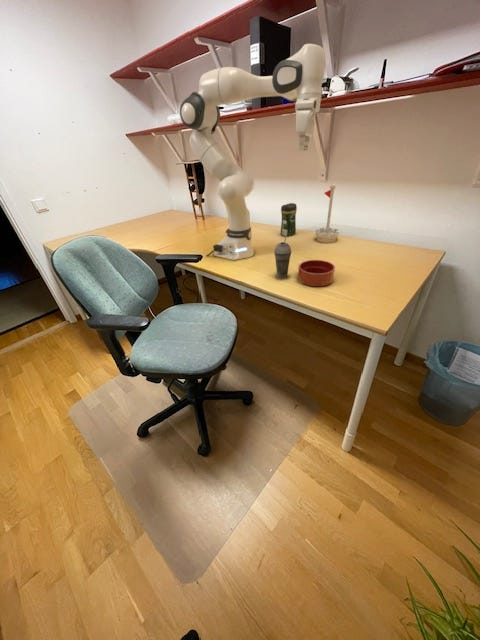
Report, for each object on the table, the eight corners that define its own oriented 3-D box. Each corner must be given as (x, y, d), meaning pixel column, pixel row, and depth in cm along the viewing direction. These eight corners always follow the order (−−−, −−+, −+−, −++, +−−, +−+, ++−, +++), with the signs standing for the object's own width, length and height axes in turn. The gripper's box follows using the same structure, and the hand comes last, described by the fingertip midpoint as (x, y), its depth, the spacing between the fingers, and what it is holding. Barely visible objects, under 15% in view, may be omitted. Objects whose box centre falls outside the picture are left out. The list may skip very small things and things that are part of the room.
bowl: (293, 284, 108) (294, 271, 105) (302, 270, 119) (303, 258, 116) (329, 289, 103) (332, 276, 99) (335, 274, 113) (337, 261, 110)
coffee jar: (288, 231, 170) (289, 201, 160) (297, 233, 165) (299, 202, 155) (278, 235, 166) (278, 204, 155) (287, 237, 160) (288, 205, 150)
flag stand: (342, 239, 151) (351, 182, 134) (328, 244, 145) (336, 185, 128) (324, 234, 160) (330, 181, 142) (310, 240, 154) (315, 184, 136)
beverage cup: (275, 272, 119) (276, 229, 108) (291, 273, 117) (293, 229, 106) (272, 279, 114) (273, 234, 102) (289, 280, 112) (291, 234, 100)
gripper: (303, 110, 104) (299, 150, 112) (294, 102, 88) (290, 150, 96) (319, 109, 102) (314, 150, 110) (313, 101, 86) (307, 150, 94)
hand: (303, 150), depth 103 cm, fingers open, 8 cm apart
